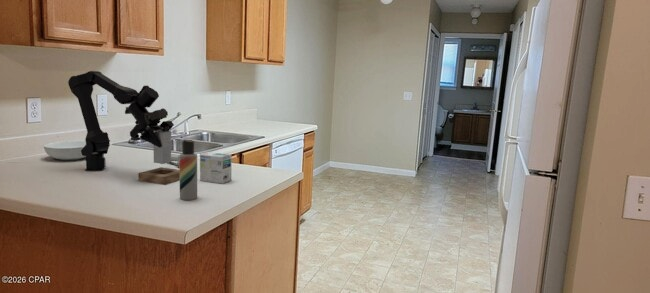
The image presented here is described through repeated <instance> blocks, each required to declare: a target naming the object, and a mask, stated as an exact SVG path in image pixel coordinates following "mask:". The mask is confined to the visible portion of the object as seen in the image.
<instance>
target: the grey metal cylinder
mask: <svg viewBox="0 0 650 293" xmlns="http://www.w3.org/2000/svg"><path fill="white" fill-rule="evenodd" d="M179 155H180V154H177V153H171V162H176V163H177V164H178V165H177V166H178V169H180V167H179Z"/></svg>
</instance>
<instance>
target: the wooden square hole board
mask: <svg viewBox="0 0 650 293" xmlns="http://www.w3.org/2000/svg"><path fill="white" fill-rule="evenodd" d="M137 174H138V175H137V176H138V182H145V183H151V184H152V183H153V184H158V185H164V186H165V185H168V184H172V183H175V182H178V181H179V182H180V169H175V168H170V167H161V166H160V167H156V168H154V169H153V168H152V169H148V170H145V171H140V172H138V173H137Z"/></svg>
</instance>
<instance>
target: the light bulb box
mask: <svg viewBox="0 0 650 293" xmlns="http://www.w3.org/2000/svg"><path fill="white" fill-rule="evenodd" d="M199 181H200V182H201V181H202V182H209V183H216V184H223V185H224V183H227V182H231V181H232V154H230V153H229V154H228V153H221V152H211V151H208V152H204V153H200V154H199Z"/></svg>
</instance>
